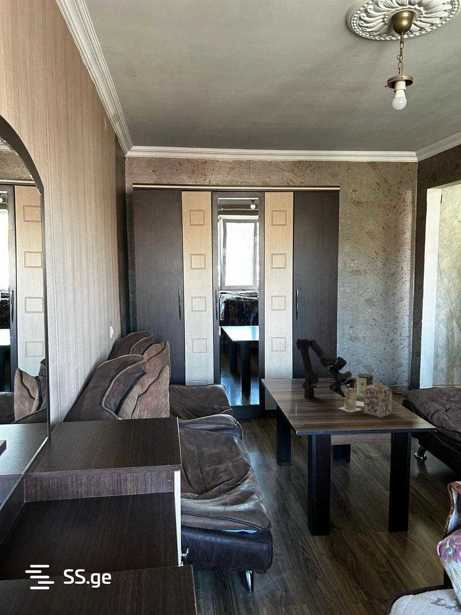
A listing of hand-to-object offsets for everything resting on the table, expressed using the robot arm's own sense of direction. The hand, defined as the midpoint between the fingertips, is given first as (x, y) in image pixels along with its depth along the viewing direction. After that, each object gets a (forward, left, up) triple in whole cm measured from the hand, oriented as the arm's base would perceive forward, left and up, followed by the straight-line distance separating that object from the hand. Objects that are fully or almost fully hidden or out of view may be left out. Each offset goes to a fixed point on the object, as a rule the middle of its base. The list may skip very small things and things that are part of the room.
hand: (350, 396), depth 273 cm
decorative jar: (+16, -2, -8) cm, 18 cm away
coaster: (+5, +13, -8) cm, 16 cm away
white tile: (0, 0, -8) cm, 8 cm away
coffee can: (+5, +35, -8) cm, 36 cm away
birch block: (0, 0, -8) cm, 8 cm away
